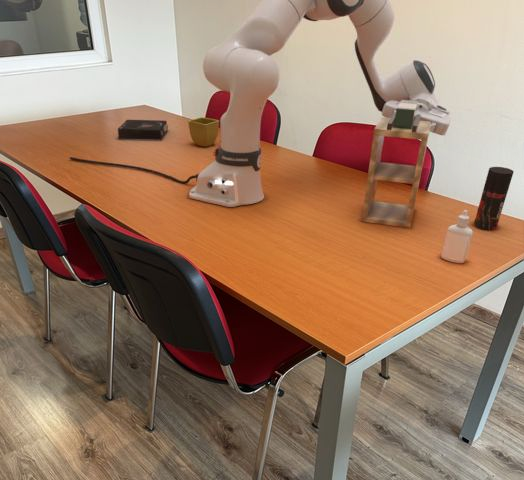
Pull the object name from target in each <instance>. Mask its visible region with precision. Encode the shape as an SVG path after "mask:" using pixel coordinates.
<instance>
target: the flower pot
mask: <svg viewBox="0 0 524 480" xmlns="http://www.w3.org/2000/svg"><path fill="white" fill-rule="evenodd" d="M187 124H188V129H189V134H190V137H191V140H192V141H193V143H194V144H195V146H199V147H204V148H207V147H210V146H213V145H214V144H215V143H216V140H217V138H218V135H219V128H220V120H219V119H214V118H208V117H202V116H201V117H197V118H194V119H190V120H188V121H187Z"/></svg>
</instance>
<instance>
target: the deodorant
mask: <svg viewBox="0 0 524 480" xmlns="http://www.w3.org/2000/svg"><path fill="white" fill-rule="evenodd" d="M513 175H514V170H513V169H511V168H508V167H503V166H491V167H489V168H488V171H487V175H486V178H485V182H484V186H483V189H482V193H481V196H480V200H479V203H478V208H477V210H476V211H477V212H476V214H475V218H474V222H473V226H474V227H475V228H477V229H480V230H483V231H484V230H485V231H494V230H497V227H498V225H499V221H500V218H501V215H502V211H503V208H504V205H505V202H506V199H507V195H508V192H509V188H510V186H511V182H512V178H513Z"/></svg>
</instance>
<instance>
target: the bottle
mask: <svg viewBox="0 0 524 480" xmlns="http://www.w3.org/2000/svg"><path fill="white" fill-rule="evenodd" d="M417 106H418V101H414V100H401V101H400V103H399V105H398V107H397V109H396V115H395V121H394V128H405V129H412V126H413V124H414V121H415V117H416V112H417Z"/></svg>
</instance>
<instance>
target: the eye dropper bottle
mask: <svg viewBox="0 0 524 480" xmlns="http://www.w3.org/2000/svg"><path fill="white" fill-rule="evenodd" d="M469 221H470V216H469V215H468V210H467V209H466V210H463V212H462V214H459V215H458V216H457V220H456V224H451V225H449V226H448V228H447V230H446V233H445V237H444V241H443V245H442V250H441V254H440V258H441V259H443V260H444V261H447V262H451V263H455V264H464V263H465V262H466V261H467V257H468V254H469V250H470V246H471V243H472V239H473V235H474V231H473V229H472V228H470V227H469V226H468V225H469Z"/></svg>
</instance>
